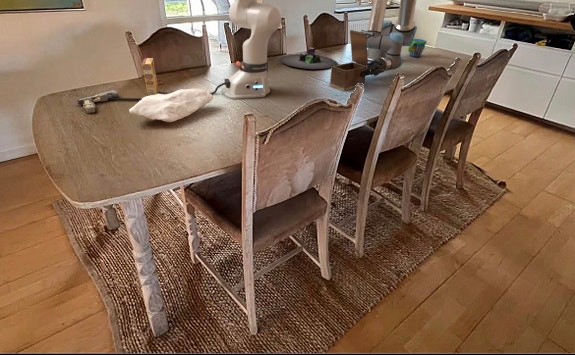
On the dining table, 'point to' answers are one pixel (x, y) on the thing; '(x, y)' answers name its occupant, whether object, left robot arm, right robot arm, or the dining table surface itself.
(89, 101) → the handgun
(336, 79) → the chest
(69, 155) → the dining table surface
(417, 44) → the snack cup
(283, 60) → the round grey tray
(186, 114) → the crumpled cloth
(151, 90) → the candy box
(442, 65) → the dining table surface
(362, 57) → the lid
